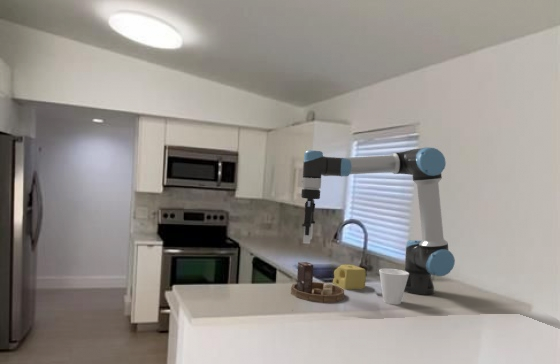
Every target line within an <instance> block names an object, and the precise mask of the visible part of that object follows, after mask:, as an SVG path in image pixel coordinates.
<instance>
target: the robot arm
mask: <svg viewBox="0 0 560 364" xmlns="http://www.w3.org/2000/svg"><path fill="white" fill-rule="evenodd" d="M303 155H304V156H303V162H302V163H303V166H302V167H303V168H302V179H301V180H300V182H301V187H302V188H301V198H302V199H306V201H305V202H304V221H303V223H302V224H301V225H302V226H301V227H303V237H302V238H303V240H302V244H306V245H307V244H308V245H310V244H311V240H313V231H314V225H315V223H316V221H315V220H314V215H315V214H314V213H315V211H316V210H315V207H316V203H315V200H319V199H320V198H321V190H320V189H321V187H322V176H323V177H329V176H330V177H349V176H350V175H365V174H379V173H383V174H384V173H392V174H394V175H399V174H400V175H409V176H410V175H411V176H412V181H413V183H414V184H416V186H417V187H416V188H417V197H418V198H417V199H418V208H419V209H418V210H419V218H420V227H421V229H420V230H421V240H417V239H416V240H415V239H413V240H410V239H409V240H407V241H406V245H405V261H404V271H406V272H408V273H409V276H408V279H407V283H406V286H405V290H404V293H405V292H406V293H410V294H414V295H415V294H416V295H425V296H427V295H433V294H434V293H435V285H434V282H433V278H432V276H436V277H444V276H447V275H449V274H450V273H451V271H452V270H453V269H454V268H455V263H456V259H455V256H454V254H453V253H452V252H451V251H450V250H449V244H448V241H447V240H446V239H444V230H443V220H442V219H443V218H442V217H443V216H442V208H441V197H440V186H439V183H440V181H441V180H442V179H443V178H442V177H443V176H442V173H443V171H444V170H445V169H446V164H447V163H446V162H447V161H446V158H445V156H444V154H443V152H441V151H440V150H439V149H438V148H435V147H426V146H425V147H421V148H413V149H410V150H405V151H400V152H393V153H391V154H388V155H373V156H371V155H370V156H355V157H335V156H334V157H330V156H324V153H323V151H321V150H306V151H305V152H304V154H303Z"/></svg>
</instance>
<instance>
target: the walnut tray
mask: <svg viewBox="0 0 560 364" xmlns="http://www.w3.org/2000/svg"><path fill="white" fill-rule="evenodd" d="M324 284H325V282H317V281H313V283H312V294H309V293H305V292H301V291H299V290H297V282H296V283H292V285H291V287H290V294H292V296H294V297H295V298H298V299H301V300H304V301H309V302H310V301H311V302H317V303H334V302H340V301H342V300H344V299H345V289H343V288H341V287H339V286H337V285H334V284H332V295H322V294H323V286H324Z"/></svg>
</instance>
